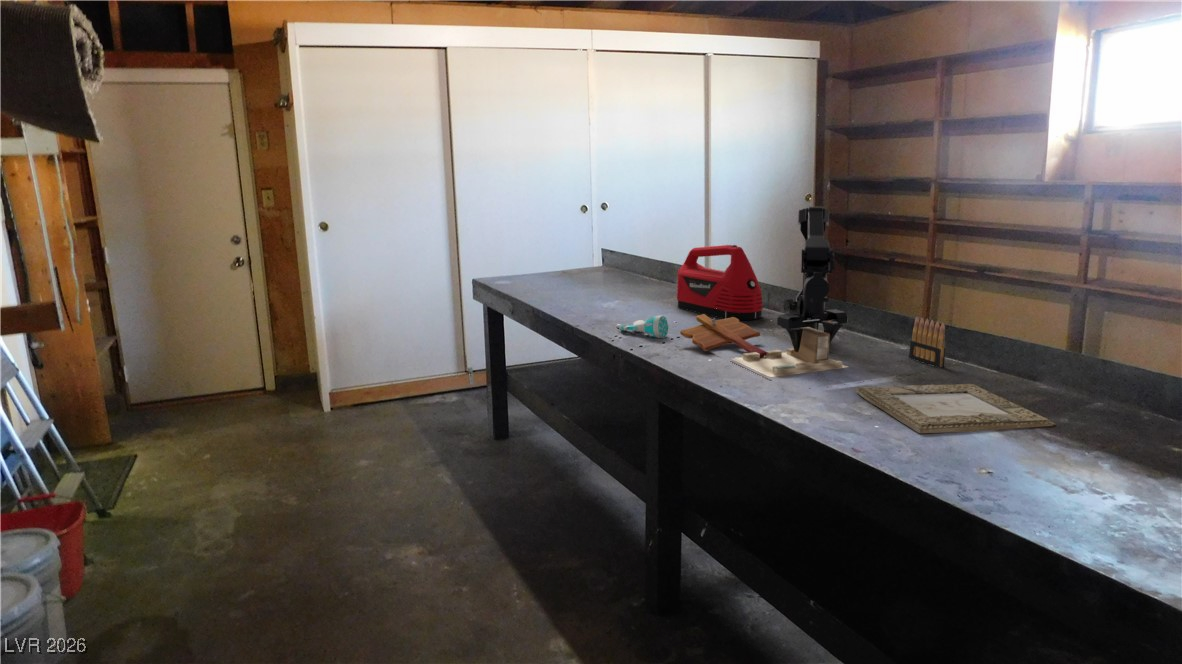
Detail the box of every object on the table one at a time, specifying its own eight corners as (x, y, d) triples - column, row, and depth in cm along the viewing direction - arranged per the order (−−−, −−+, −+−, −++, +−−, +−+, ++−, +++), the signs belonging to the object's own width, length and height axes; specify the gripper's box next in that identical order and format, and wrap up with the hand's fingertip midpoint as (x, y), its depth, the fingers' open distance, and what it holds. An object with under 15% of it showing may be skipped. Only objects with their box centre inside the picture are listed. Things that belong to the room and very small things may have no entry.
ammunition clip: (908, 358, 201) (912, 315, 199) (913, 357, 202) (917, 315, 199) (938, 368, 192) (943, 323, 189) (944, 367, 192) (948, 322, 190)
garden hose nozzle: (616, 314, 246) (610, 320, 227) (668, 310, 244) (667, 315, 224) (618, 335, 247) (612, 343, 227) (670, 331, 245) (669, 339, 225)
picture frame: (1055, 429, 150) (1057, 417, 149) (919, 436, 146) (920, 423, 145) (971, 390, 176) (972, 380, 175) (853, 395, 171) (854, 384, 171)
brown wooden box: (807, 355, 202) (808, 326, 200) (828, 363, 193) (830, 334, 191) (793, 356, 200) (794, 328, 198) (814, 365, 192) (816, 335, 190)
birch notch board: (804, 353, 208) (804, 342, 207) (849, 370, 190) (849, 359, 189) (730, 362, 199) (730, 351, 199) (770, 381, 182) (770, 369, 181)
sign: (789, 358, 205) (725, 320, 229) (791, 338, 202) (726, 302, 227) (732, 375, 197) (673, 334, 222) (733, 355, 195) (673, 315, 219)
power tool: (697, 301, 288) (699, 237, 283) (772, 318, 256) (775, 246, 250) (666, 305, 280) (666, 240, 275) (739, 323, 248) (741, 249, 242)
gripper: (824, 285, 203) (820, 340, 207) (766, 290, 197) (764, 346, 201) (851, 292, 193) (847, 349, 197) (791, 297, 187) (788, 356, 190)
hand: (810, 350), depth 196 cm, fingers open, 9 cm apart
